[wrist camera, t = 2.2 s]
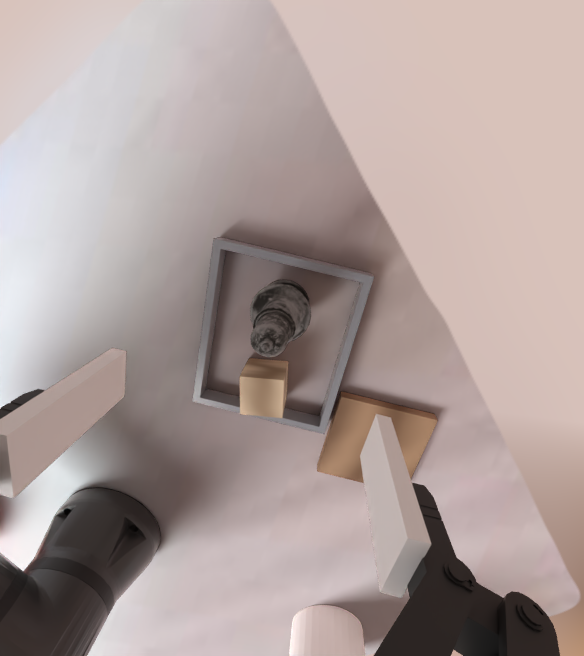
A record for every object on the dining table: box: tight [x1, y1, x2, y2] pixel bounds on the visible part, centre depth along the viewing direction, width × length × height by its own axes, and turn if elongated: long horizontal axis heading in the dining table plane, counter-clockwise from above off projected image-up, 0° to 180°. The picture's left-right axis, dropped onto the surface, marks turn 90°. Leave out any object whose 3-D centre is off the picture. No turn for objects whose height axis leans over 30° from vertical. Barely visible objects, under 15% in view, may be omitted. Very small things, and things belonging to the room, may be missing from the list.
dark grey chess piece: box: [250, 280, 311, 357], centre depth 28 cm, size 6×6×12 cm
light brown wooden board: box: [317, 391, 438, 483], centre depth 38 cm, size 11×11×1 cm
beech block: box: [240, 358, 288, 418], centre depth 35 cm, size 4×4×4 cm
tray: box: [192, 237, 374, 434], centre depth 35 cm, size 16×19×2 cm
